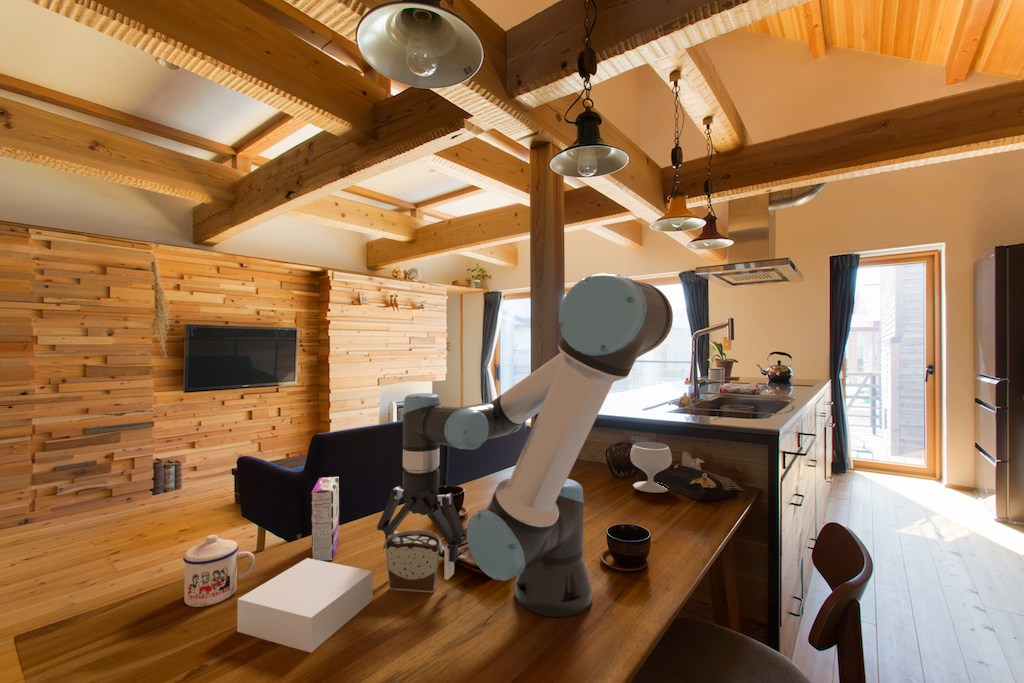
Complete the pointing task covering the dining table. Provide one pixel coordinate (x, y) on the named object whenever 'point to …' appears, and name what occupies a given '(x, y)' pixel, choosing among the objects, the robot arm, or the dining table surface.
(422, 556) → the food container
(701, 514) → the dining table surface
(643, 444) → the chalice
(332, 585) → the white block
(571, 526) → the robot arm
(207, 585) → the teacup with lid
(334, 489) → the candy bar box
